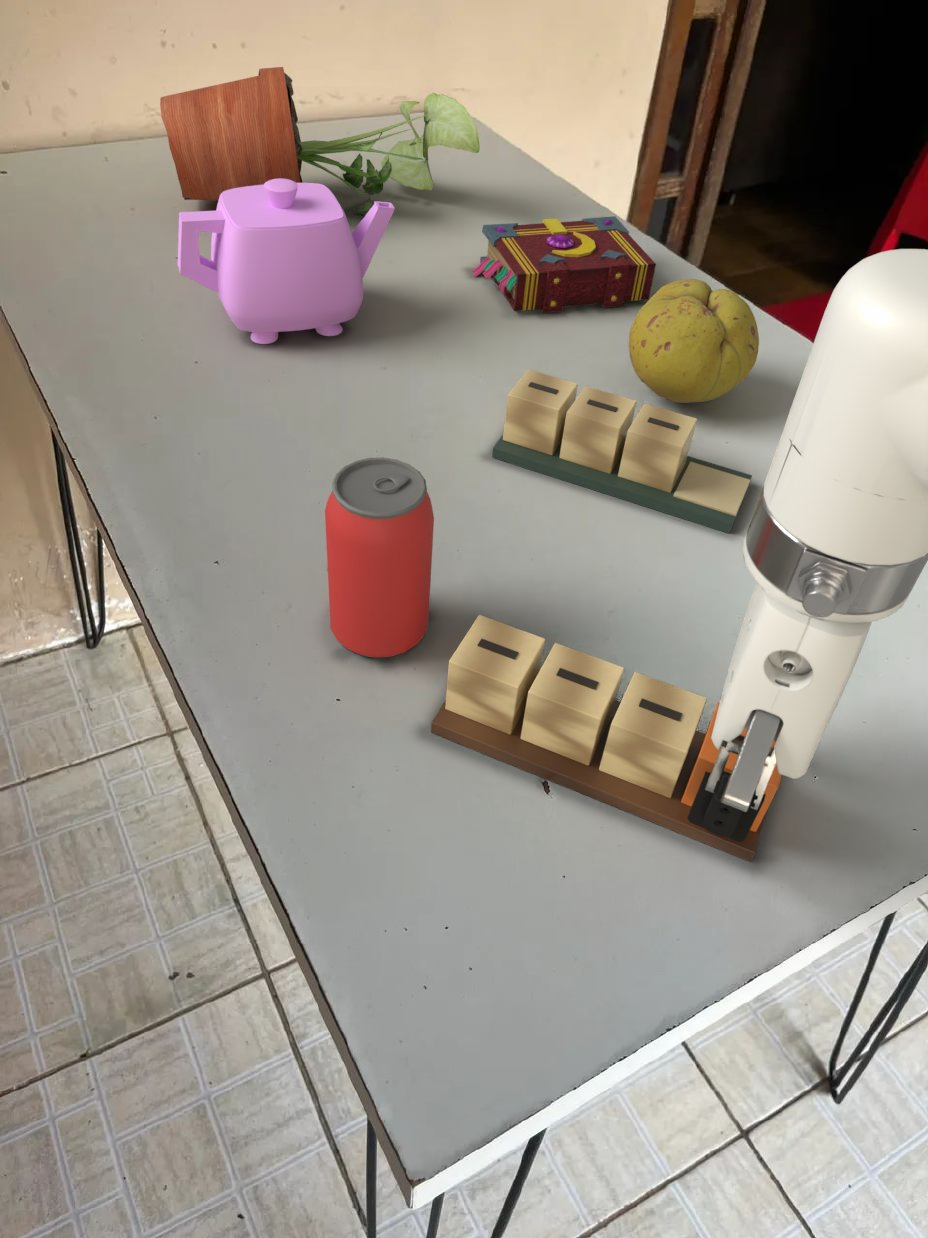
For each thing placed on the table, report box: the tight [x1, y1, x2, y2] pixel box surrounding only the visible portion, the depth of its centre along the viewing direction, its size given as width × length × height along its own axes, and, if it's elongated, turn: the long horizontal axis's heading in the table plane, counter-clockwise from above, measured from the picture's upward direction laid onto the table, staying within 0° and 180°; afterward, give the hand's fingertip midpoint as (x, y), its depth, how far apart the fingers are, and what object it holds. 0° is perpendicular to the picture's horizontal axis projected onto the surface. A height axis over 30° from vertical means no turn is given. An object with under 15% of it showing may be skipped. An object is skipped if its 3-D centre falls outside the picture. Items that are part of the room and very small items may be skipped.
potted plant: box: [159, 66, 481, 216], centre depth 109 cm, size 16×15×35 cm
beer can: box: [324, 457, 435, 659], centre depth 62 cm, size 7×7×12 cm
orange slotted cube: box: [681, 701, 783, 832], centre depth 55 cm, size 4×4×4 cm
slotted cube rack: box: [491, 369, 753, 534], centre depth 78 cm, size 20×7×6 cm, turn 65°
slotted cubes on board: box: [430, 614, 769, 862], centre depth 58 cm, size 20×7×6 cm, turn 65°
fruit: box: [628, 278, 760, 404], centre depth 85 cm, size 11×12×10 cm
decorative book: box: [471, 215, 657, 314], centre depth 101 cm, size 11×16×5 cm
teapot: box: [177, 178, 395, 345], centre depth 90 cm, size 20×12×13 cm, turn 110°
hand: (732, 774), depth 56 cm, fingers open, 7 cm apart
